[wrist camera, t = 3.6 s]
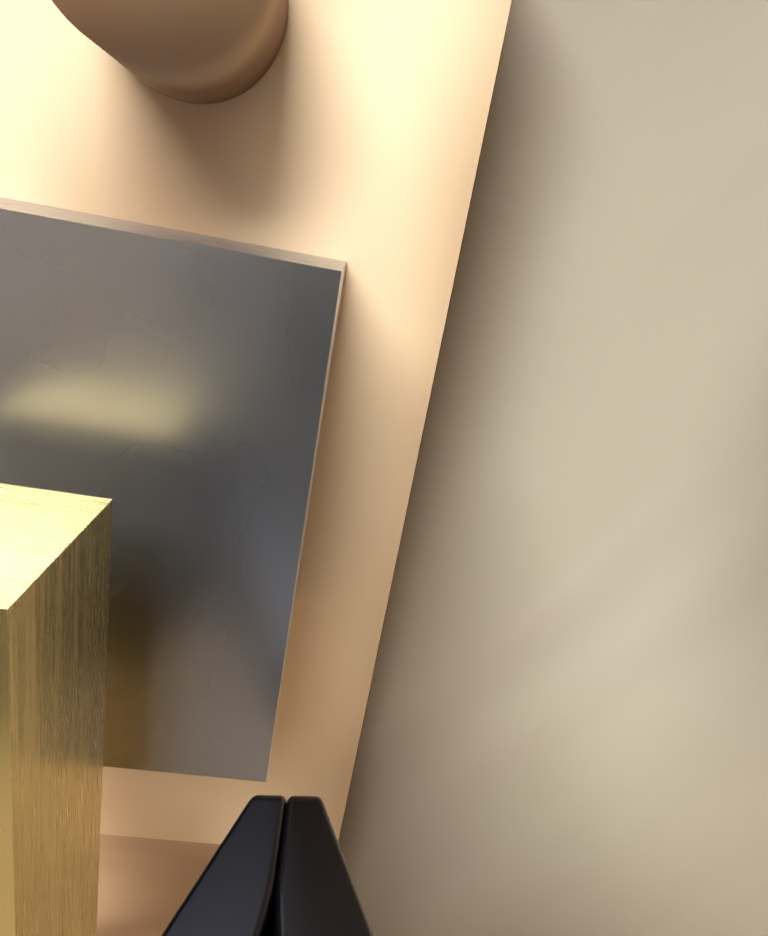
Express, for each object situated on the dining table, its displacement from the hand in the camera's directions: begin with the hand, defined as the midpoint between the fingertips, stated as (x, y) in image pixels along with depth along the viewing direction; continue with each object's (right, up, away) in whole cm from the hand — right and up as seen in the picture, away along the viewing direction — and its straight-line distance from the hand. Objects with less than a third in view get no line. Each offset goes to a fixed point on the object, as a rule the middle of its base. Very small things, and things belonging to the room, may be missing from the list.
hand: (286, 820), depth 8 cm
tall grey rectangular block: (-3, +5, +4) cm, 8 cm away
